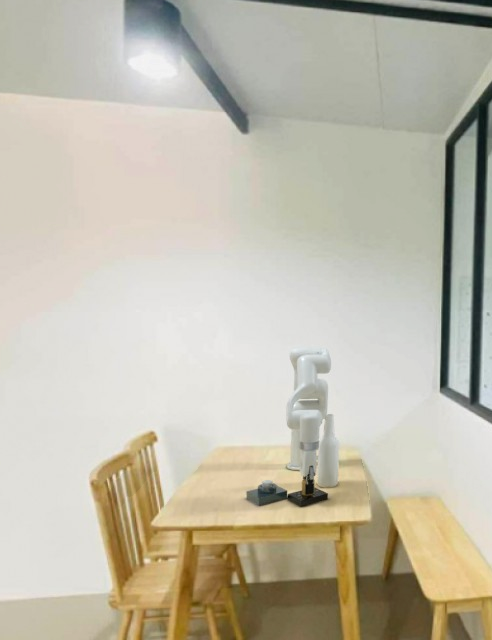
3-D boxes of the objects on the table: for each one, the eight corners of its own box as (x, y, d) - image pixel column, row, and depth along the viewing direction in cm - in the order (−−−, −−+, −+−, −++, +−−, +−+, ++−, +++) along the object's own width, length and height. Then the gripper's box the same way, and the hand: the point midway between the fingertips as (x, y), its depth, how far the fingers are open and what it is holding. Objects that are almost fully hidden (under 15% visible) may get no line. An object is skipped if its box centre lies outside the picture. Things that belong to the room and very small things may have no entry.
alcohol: (337, 487, 213) (339, 416, 213) (316, 488, 212) (318, 417, 212) (338, 480, 222) (340, 412, 222) (317, 481, 220) (319, 413, 221)
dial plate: (313, 493, 206) (314, 486, 206) (327, 499, 199) (328, 492, 199) (287, 500, 197) (287, 493, 197) (301, 507, 190) (301, 500, 190)
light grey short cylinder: (269, 484, 201) (269, 479, 201) (274, 487, 199) (274, 481, 199) (260, 486, 199) (260, 481, 199) (264, 489, 196) (265, 484, 196)
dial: (300, 492, 199) (301, 478, 200) (312, 490, 201) (313, 477, 202) (302, 496, 195) (303, 482, 195) (315, 494, 197) (315, 481, 197)
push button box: (274, 491, 206) (274, 479, 206) (287, 498, 199) (287, 485, 200) (246, 498, 198) (246, 486, 198) (258, 506, 191) (258, 492, 191)
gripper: (295, 441, 204) (294, 485, 204) (303, 451, 189) (302, 500, 189) (314, 439, 208) (313, 483, 208) (323, 449, 192) (322, 497, 192)
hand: (308, 491), depth 198 cm, fingers closed on dial, 4 cm apart
